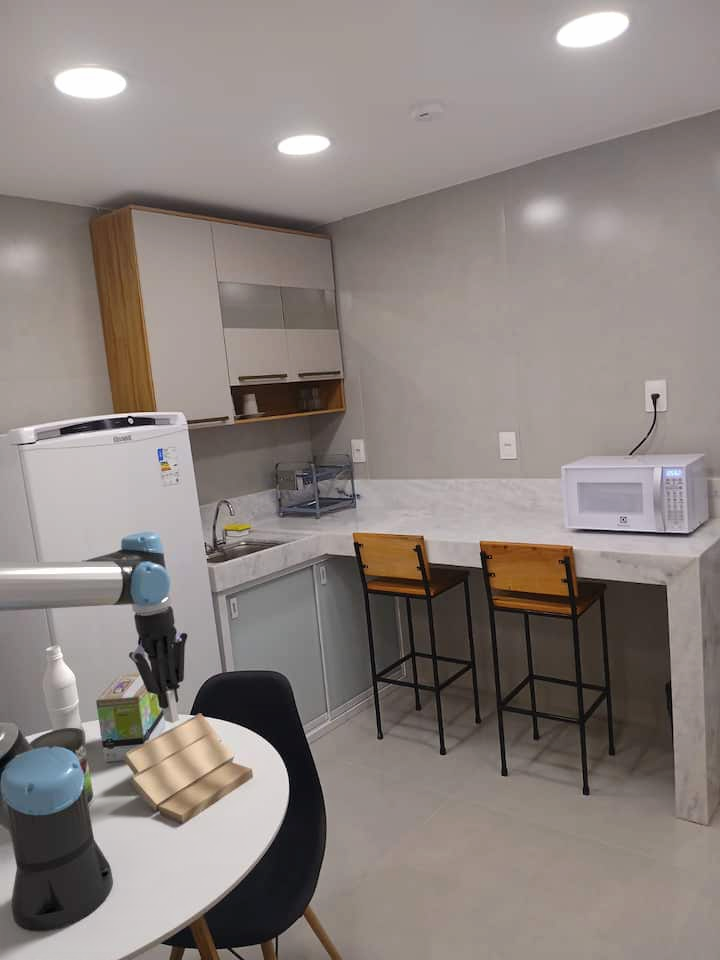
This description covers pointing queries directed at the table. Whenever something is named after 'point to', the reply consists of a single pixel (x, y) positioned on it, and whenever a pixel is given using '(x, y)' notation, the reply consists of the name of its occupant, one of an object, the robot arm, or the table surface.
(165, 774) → the plank
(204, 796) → the laid board
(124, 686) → the tea box
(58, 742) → the coffee can
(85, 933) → the table surface
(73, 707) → the water bottle
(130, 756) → the plank
